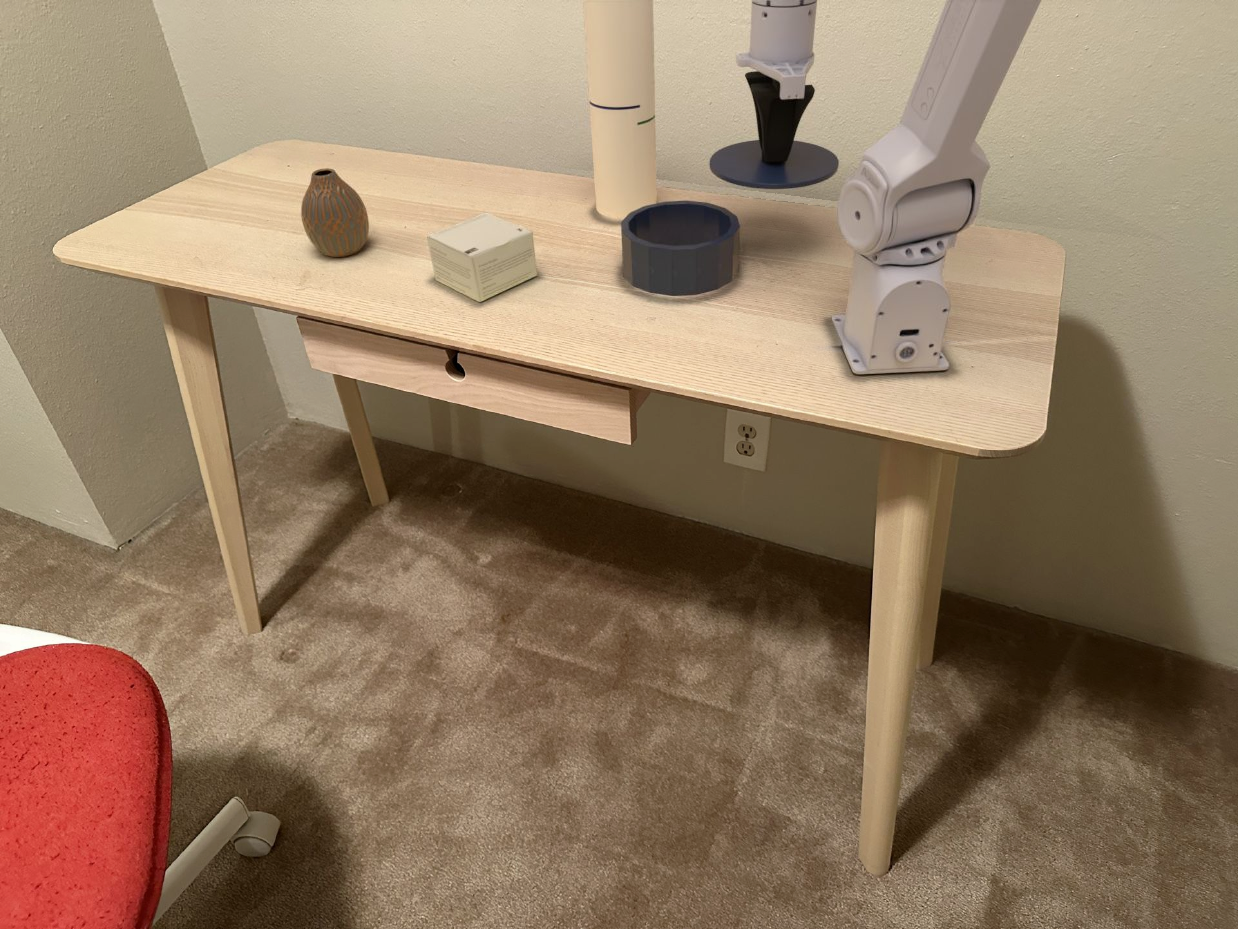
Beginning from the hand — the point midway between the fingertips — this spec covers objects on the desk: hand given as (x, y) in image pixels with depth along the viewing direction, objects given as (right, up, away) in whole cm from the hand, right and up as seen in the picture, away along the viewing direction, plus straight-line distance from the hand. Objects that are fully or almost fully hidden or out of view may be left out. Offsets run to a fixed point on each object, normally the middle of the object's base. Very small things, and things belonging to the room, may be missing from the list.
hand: (773, 155), depth 84 cm
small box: (-29, -11, +5) cm, 31 cm away
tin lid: (0, -1, +1) cm, 1 cm away
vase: (-46, -7, +12) cm, 48 cm away
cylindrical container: (-14, -1, +17) cm, 22 cm away
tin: (-9, -11, +3) cm, 15 cm away
